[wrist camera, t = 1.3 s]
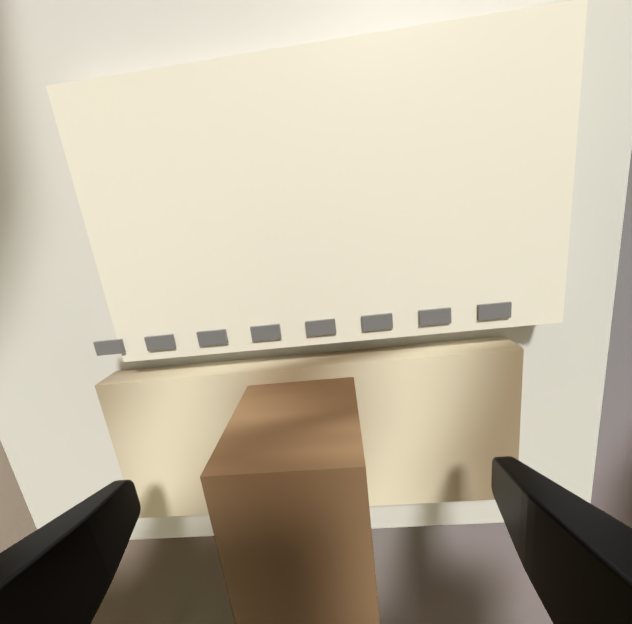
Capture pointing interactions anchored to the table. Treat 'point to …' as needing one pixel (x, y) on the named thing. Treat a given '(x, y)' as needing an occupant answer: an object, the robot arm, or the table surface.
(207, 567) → the table surface
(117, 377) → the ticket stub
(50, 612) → the robot arm
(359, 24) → the ticket board
